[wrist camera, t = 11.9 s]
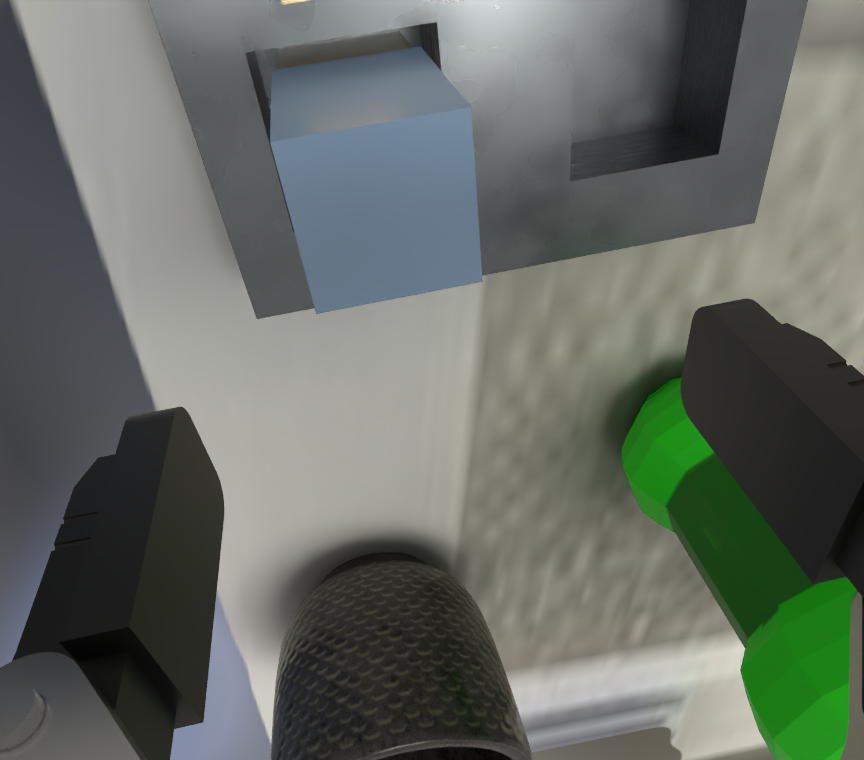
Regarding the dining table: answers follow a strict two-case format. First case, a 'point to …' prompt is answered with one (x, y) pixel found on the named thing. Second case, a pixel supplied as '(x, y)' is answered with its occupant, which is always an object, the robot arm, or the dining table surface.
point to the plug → (375, 170)
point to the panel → (512, 116)
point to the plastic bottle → (749, 582)
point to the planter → (392, 671)
